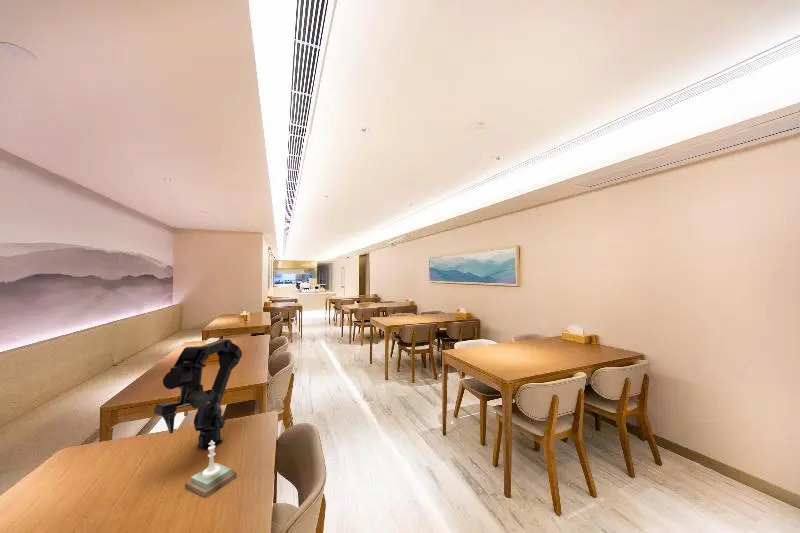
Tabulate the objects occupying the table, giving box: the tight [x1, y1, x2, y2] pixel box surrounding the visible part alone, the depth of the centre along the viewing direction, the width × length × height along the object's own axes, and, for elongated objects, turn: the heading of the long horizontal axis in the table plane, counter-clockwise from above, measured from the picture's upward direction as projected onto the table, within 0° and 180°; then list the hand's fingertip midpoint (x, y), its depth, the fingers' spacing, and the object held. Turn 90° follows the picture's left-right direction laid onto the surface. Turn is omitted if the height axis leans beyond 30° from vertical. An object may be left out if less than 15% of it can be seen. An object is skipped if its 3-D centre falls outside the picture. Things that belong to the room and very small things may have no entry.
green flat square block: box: [184, 462, 238, 499], centre depth 93 cm, size 10×10×3 cm
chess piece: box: [202, 440, 220, 478], centre depth 94 cm, size 5×5×10 cm
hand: (185, 428), depth 103 cm, fingers open, 9 cm apart
